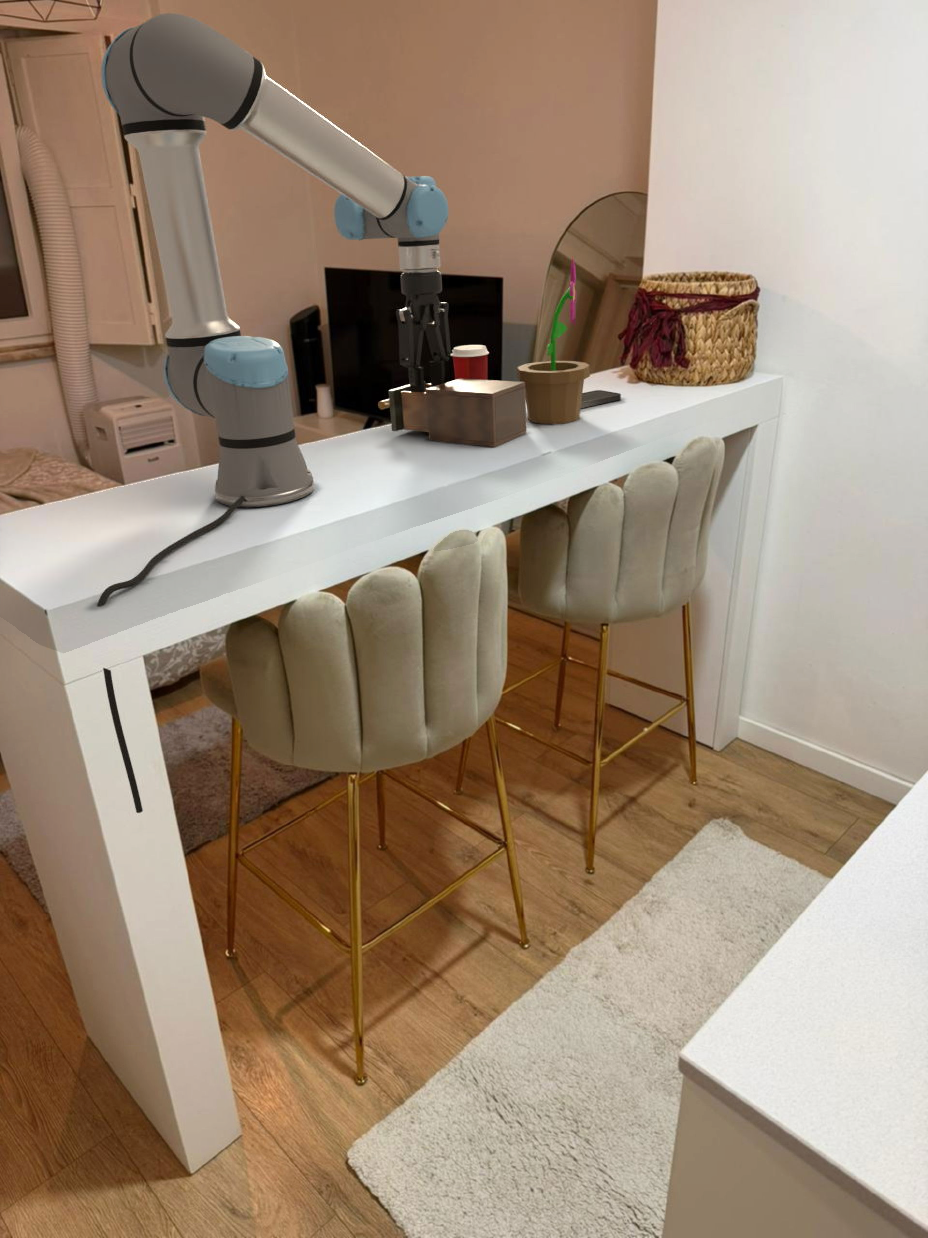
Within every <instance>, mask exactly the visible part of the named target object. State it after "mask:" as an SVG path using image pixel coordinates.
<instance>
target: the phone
mask: <svg viewBox="0 0 928 1238" xmlns="http://www.w3.org/2000/svg"><path fill="white" fill-rule="evenodd" d="M621 399H622V394H621V393H619V392H613V391H607V390H601V389H596V390H590V391H586V392H582V400H581V408H580V409H585V408H588V407H593V406H598V405H603V404H607V403H610V402H611V403H612V402H616V401H621Z"/></svg>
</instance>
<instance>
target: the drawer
mask: <svg viewBox="0 0 928 1238" xmlns="http://www.w3.org/2000/svg"><path fill="white" fill-rule="evenodd" d="M427 388H431V382H430V383H426V381H425V380H424V391H425V392H412V391H411V387H410V383H409V384H405V385H402V386H399V387H396V388H391V389H389V390H388V398H386V399H383V400H379V401H378V403H377V406H378V408H379V409H380V410H385V409H389V413H390V425H391V426H390V427H391V431H392V432H399V431H401V430H405V431H415V432H425V433H429V430H428V416H427V402H426V389H427Z"/></svg>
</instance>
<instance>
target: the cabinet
mask: <svg viewBox="0 0 928 1238" xmlns="http://www.w3.org/2000/svg"><path fill="white" fill-rule="evenodd" d="M426 402H427V416H428V430H429V432H428V440H429V441H432V442H443V443H451V444H461V445H469V446H480V447H488V448H489V447H490V448H497V447H498V446H500V445H503V444H505V443H507V442H509V441H512V440H514V439H516V438H519V437H521V436H523V435H526V434H527V405H526V397H525V382H522V381H515V380H514V381H511V380H497V379H496V380H494V379H487V380H481V379H464V378H460V379H457V380H455V379H454V380H451V381H447V382H444V384H440V385H437V386H434V387H431V388H427V387H426Z"/></svg>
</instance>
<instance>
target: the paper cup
mask: <svg viewBox="0 0 928 1238" xmlns="http://www.w3.org/2000/svg"><path fill="white" fill-rule="evenodd" d="M489 354H490V352H489V351H488V348H487V346H486V345H483V344H467V345H466V344H464V345H457V346H455V347H453V349H451V355H450V357H452V361H453V371H454V380H457V379H460V378H464V379H481V380H488V355H489Z"/></svg>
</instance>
